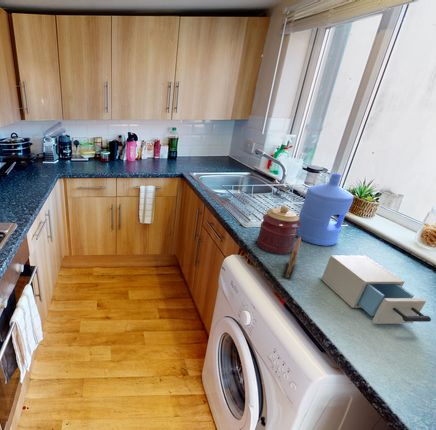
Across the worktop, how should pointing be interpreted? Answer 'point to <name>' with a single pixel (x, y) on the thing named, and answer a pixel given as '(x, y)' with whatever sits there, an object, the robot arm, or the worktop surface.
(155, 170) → the worktop surface
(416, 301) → the cabinet drawer
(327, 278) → the small drawer cabinet
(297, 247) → the ammunition clip
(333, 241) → the water jug
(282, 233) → the kitchen canister
